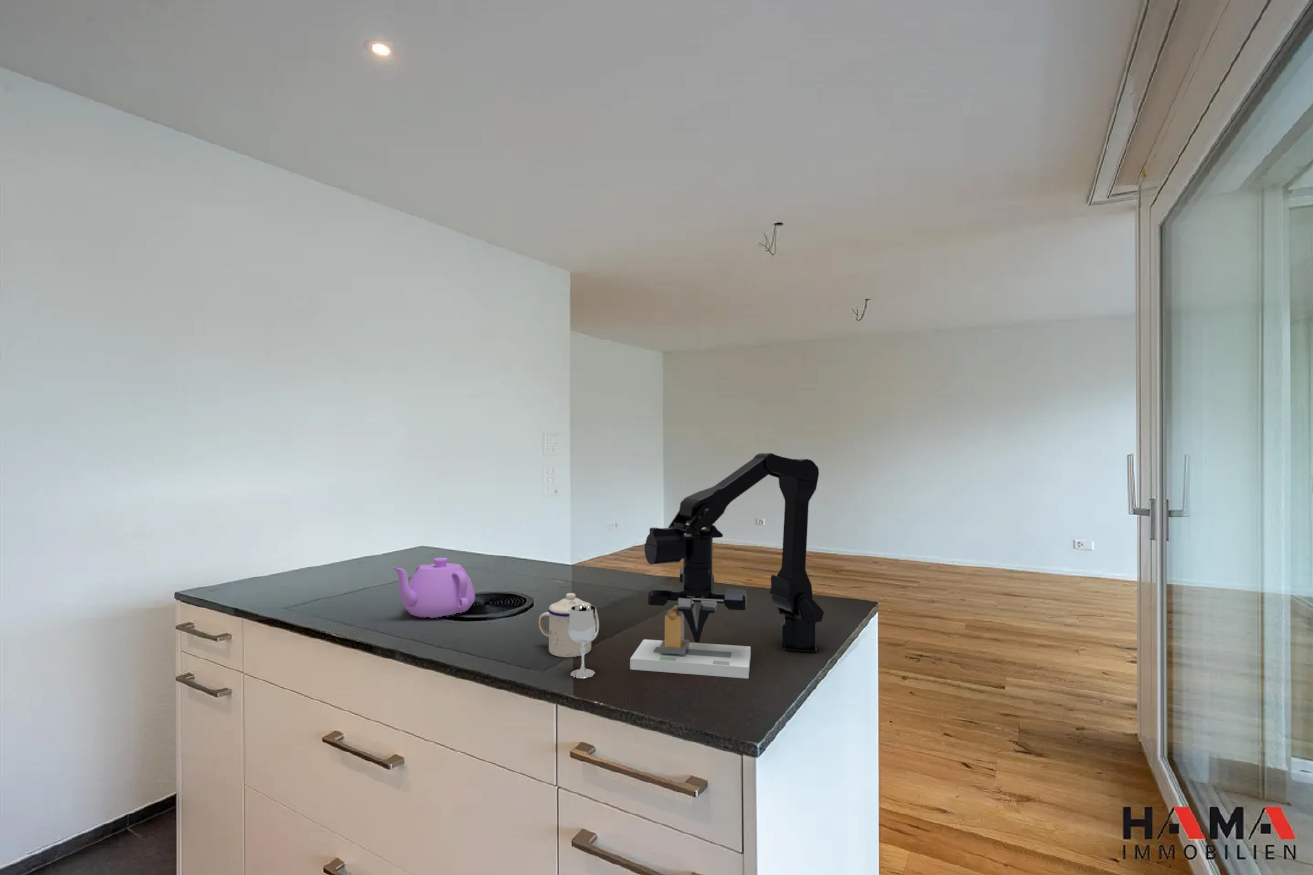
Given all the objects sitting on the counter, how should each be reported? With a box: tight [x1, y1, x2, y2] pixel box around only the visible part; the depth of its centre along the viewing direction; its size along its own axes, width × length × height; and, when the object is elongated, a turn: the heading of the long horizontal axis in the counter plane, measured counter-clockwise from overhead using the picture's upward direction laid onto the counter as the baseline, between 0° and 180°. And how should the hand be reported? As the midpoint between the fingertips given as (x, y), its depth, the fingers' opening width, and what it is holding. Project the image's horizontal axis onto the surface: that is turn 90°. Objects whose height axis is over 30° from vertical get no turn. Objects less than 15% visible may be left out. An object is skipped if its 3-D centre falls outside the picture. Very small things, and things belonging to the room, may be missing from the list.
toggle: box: [659, 604, 690, 655], centre depth 115 cm, size 5×6×8 cm
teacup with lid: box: [538, 592, 592, 658], centre depth 121 cm, size 12×9×12 cm
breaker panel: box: [629, 639, 752, 679], centre depth 114 cm, size 22×12×2 cm, turn 79°
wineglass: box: [568, 604, 600, 679], centre depth 108 cm, size 6×6×12 cm
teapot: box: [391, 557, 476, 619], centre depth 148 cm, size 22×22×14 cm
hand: (697, 641), depth 114 cm, fingers closed
